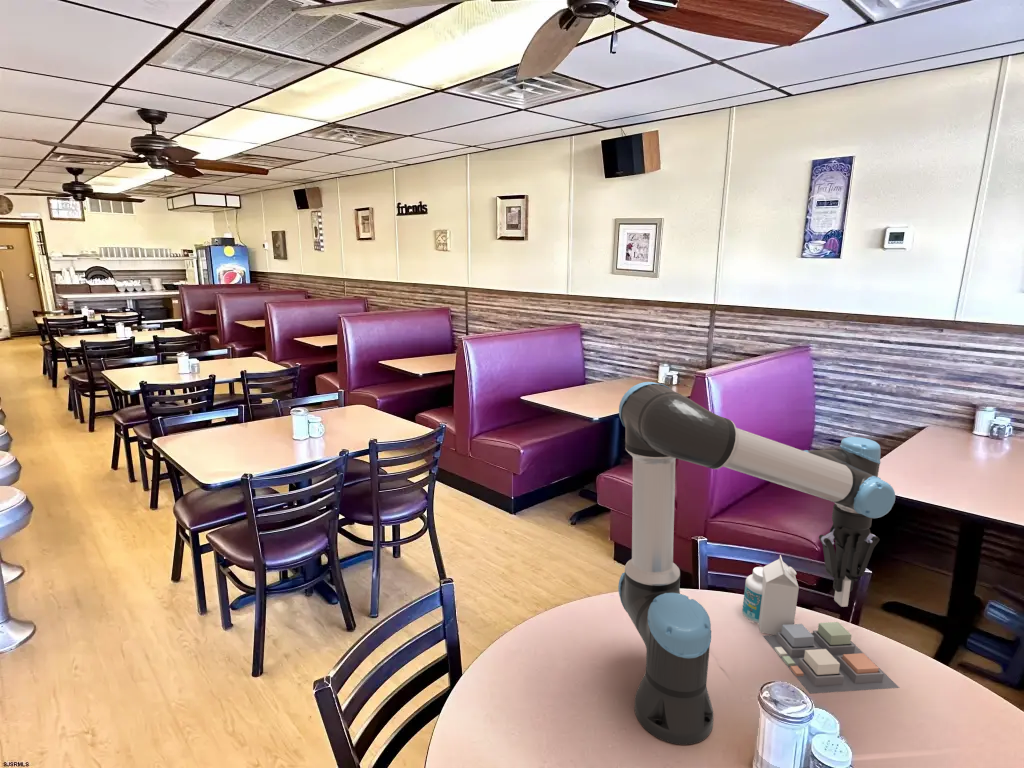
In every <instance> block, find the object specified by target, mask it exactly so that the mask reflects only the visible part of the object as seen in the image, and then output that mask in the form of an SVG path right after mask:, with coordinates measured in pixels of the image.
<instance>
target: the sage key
mask: <svg viewBox="0 0 1024 768" xmlns="http://www.w3.org/2000/svg"><path fill="white" fill-rule="evenodd" d="M817 625H818V626H817V630H818V633H819V634H820V635H821V636H822V637H823V638H824V639H825V640H826V641H827V642H828V643H829V644H830V645H841V644H850V642H851V641H852V634H851V633H850V632H849V631H848V630H847V629H846V628H845V627H844V626H843V625H842V624H841V623H840V622H839V621H833V622H832V621H830V622H829V621H828V622H818V624H817Z"/></svg>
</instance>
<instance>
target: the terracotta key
mask: <svg viewBox="0 0 1024 768" xmlns="http://www.w3.org/2000/svg"><path fill="white" fill-rule="evenodd" d="M842 659H843V660H844V661H845V662H846V663H847V664H848V665H849V666H850V667H851V669H852V670H853V671H854V672H855V673H856V674H865V673H878V670H879V668H880V667H879V666H878V665H877V664H876V663H875V662H874V661H873V660H872V659H870V658H869V656H867V654H866V653H864V652H863V653H858V654H843V657H842ZM874 663H875V664H876V665H877V666H878V667H879V668H878V667H877V666H876V665H875V664H874Z"/></svg>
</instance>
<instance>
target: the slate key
mask: <svg viewBox="0 0 1024 768" xmlns="http://www.w3.org/2000/svg"><path fill="white" fill-rule="evenodd" d="M811 633H812V632H810V631H809V629H807V628H806V626H805V625H804V624H802V623H796V624H795V623H794V624H789V625H782V635H783V636H784V637H785V639H786V640H787V641H788V642H789V643H790V644H791V645H792V647H806V646H813V643H814V636H813V635H812V634H811Z"/></svg>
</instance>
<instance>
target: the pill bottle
mask: <svg viewBox="0 0 1024 768" xmlns="http://www.w3.org/2000/svg"><path fill="white" fill-rule="evenodd" d="M763 567H764V566H756V567H754V568H753V569H752V574H750V575H749V574H748V576H747V577H746V578H745V584H744V593H743V601H742V602H743V603H742V611H741V614H742V616H744V618H745V619H746V620H748V621H750V622H753V623H756V624H759V615H760V607H761V599H762V589H763V588H762V582H763Z"/></svg>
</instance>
